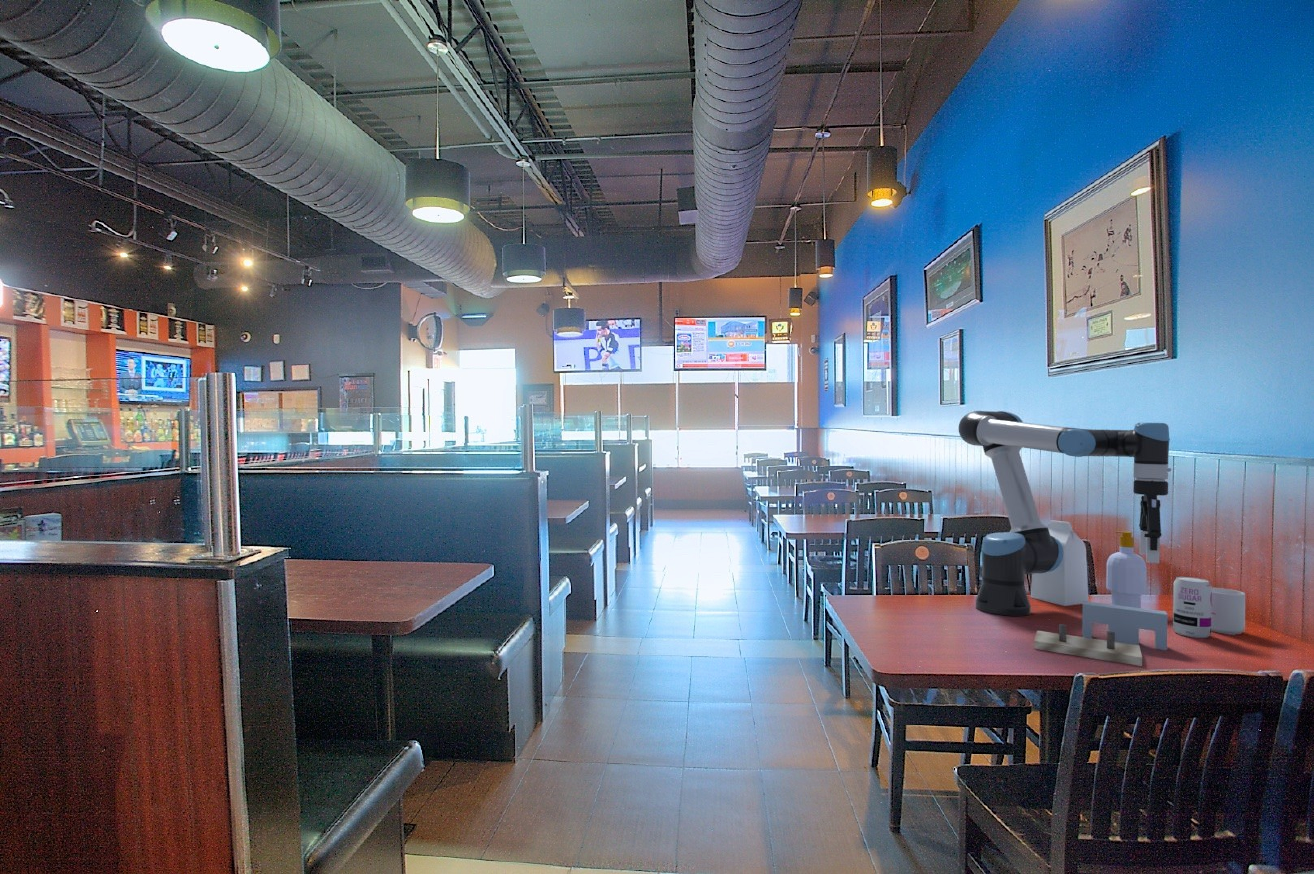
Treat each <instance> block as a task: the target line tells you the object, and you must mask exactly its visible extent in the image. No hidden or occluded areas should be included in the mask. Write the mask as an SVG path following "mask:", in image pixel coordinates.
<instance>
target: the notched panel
mask: <svg viewBox="0 0 1314 874" xmlns="http://www.w3.org/2000/svg"><path fill="white" fill-rule="evenodd" d="M1081 621H1082V624H1081V625H1082V630H1081V631H1082V634H1081V637H1085V638H1091V639H1093V623H1095V624H1101V625H1107V626H1108V628H1107V629H1108V630H1107V631H1112V632H1115V642H1118V643H1125V644H1132V645H1139V646H1140V644H1139V641H1140V640H1139V639H1140V638H1139V635H1140V634H1139V633H1140V630H1145V631H1146V630H1147V631H1153V632H1154V646H1155V649H1156V650H1161V651H1168V612H1167V611H1166V610H1157V609H1149V608H1143V607H1141V608H1135V607H1127V606H1118V605H1111V603H1110V604H1108V603H1100V602H1092V601H1089V602H1086V601H1083V604H1082V620H1081Z"/></svg>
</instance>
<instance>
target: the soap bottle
mask: <svg viewBox="0 0 1314 874" xmlns="http://www.w3.org/2000/svg"><path fill="white" fill-rule="evenodd" d="M1114 533H1116V534H1121V536H1120V535H1119V552H1118V551H1117V552H1115V553H1112V554H1110V555H1109V557H1108V558H1107V561H1106V581H1105V585H1106V587H1105V588H1106V590H1107V591H1110V592H1111V594H1110V595H1111V596H1110V599H1111V600H1110V601H1111V603H1110V605H1118V606H1127V607H1135V608H1142V595H1145V594H1147V580H1148V579H1147V577H1148V576H1147V573H1148V572H1147V571H1148V569H1147V568H1148V567H1147V564H1146V563H1147V562H1146V560H1144V557H1142V556H1140V554H1139V555H1138V554H1136V553H1134V552H1135V551H1134V550H1135V548H1134V546H1135V544H1134V540H1135V537H1132V532H1131V531H1118V530H1114Z"/></svg>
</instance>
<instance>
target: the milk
mask: <svg viewBox="0 0 1314 874" xmlns="http://www.w3.org/2000/svg"><path fill="white" fill-rule="evenodd" d="M1047 527H1048V529H1049V533H1050V535H1051V536H1053V537H1055V538H1056V539H1058V540H1059V542H1060V543H1061V545H1062V547H1063V560H1062V562H1061V563H1060V565H1059V567H1058V568H1056V569H1055V570H1053V571H1050V572H1046V573H1034V574H1031V585H1030V598H1031V599H1034V600H1035V599H1036V600H1039V601H1043V602H1047V603H1051V604H1056V605H1059V606H1062V607H1063V606H1064V607H1066V606H1067V607H1068V606H1074V605H1076V606H1077V605H1083V601H1086V602H1090V601H1089V600H1090V599H1089V585H1088V584H1089V583H1088V582H1089V581H1088V563H1087V547H1086V545H1085V542H1084V541H1083V540H1082V539H1081V538H1080V537H1079V536H1078V534H1077V533H1076V532H1075V531H1074V530H1073V527H1072V524H1071V522H1069V521H1060V520H1054V519H1053V520H1052V519H1051V520H1049V523H1048V525H1047Z"/></svg>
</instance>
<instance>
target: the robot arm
mask: <svg viewBox="0 0 1314 874" xmlns="http://www.w3.org/2000/svg"><path fill="white" fill-rule="evenodd" d="M1169 428H1170V427H1169V425H1168V424H1167V423H1164V422H1137V423H1134V428H1133V429H1130V430H1129V429H1126V430H1125V429H1107V428H1106V429H1092V428H1091V429H1090V428H1078V427H1077V428H1076V427H1069V426H1066V427H1065V426H1059V425H1058V426H1057V425H1050V424H1039V423H1031V422H1024V421H1023V420H1022V419H1021V418H1020V417H1019V416H1018V415H1017V414H1015V413H1012V412H1009V411H1004V410H1003V411H1002V410H1001V411H1000V410H998V411H994V410H993V411H990V410H989V411H987V410H974V411H970V412H968V413H966V414H965V415H963V417H962V418H961V419H960V420H959V424H958V434H959V437H960V438H961V439H962V440H963V442H964V443H967V444H969V445H972V446H975V447H976V446H977V447H982V449H983V453H984V455H985V456H987V457H988V458H990V460H991V462H992V465H993V469H994V473H995V476H996V480H997V482H998V485H999V486H998V487H999V490H1000V492H1001V493H1000V494H1001V497H1002V500H1003V503H1004V507H1005V511H1006V513H1007V517H1008V520H1009V524H1010V527H1011V529H1010V530H1009V532H1008V531H1006V532H1005V531H1004V532H993V533H988V534H987V535H985V536H984V538H983V540H982V546H981V552H982V553H981V555H982V556H981V557H982V559H981V585H980V587H979V590H978V593H977V595H976V598H975V608H976V609H978V610H980V611H982V612H986V613H989V614H994V615H995V614H996V615H1001V616H1009V617H1024V616H1028V615H1030V614H1031V613H1032V612H1031V609H1032V608H1031V607H1032V606H1031V603H1030V600H1029V597H1028V594H1027V590H1026V587H1025V578H1026V577H1025V575H1032V574H1034V573H1046V572H1050V571H1053V570H1055V569H1056V568H1058V567H1059V565H1060V563H1061V562H1062V560H1063V547H1062V545H1061V543H1060V542H1059V540H1058V539H1056V538H1055V537H1053V536H1051V535H1050V533H1049V529H1048V525H1045V524H1044V523H1042V522H1041V518H1040V515H1039V512H1038V509H1037V506H1036V502H1035V500H1034V496H1033V493H1032V490H1031V486H1030V483H1029V480H1028V477H1027V476H1028V475H1027V474H1026V473H1027V472H1026V470H1025V466H1024V463H1023V460H1022V458H1021V454H1020V452H1021V450H1022V448H1024V449H1031V450H1036V451H1037V450H1039V451H1044V452H1045V451H1046V452H1052V453H1058V454H1063V455H1066V456H1070V457H1076V458H1080V457H1081V458H1082V457H1105V458H1106V457H1117V458H1119V457H1121V458H1122V457H1125V458H1126V457H1127V458H1133V475H1132V476H1133V479H1135V480H1134V481H1133V487H1132V488H1133V489H1132V490H1133V494H1136V495H1141V497H1140V502H1139V504H1140V515H1139V517H1140V518H1139V524H1138V526H1139V530H1140V531H1139V555H1141V556H1145V563H1149V564H1151V563H1152V564H1160V552H1161V551H1160V548H1161V547H1160V545H1161V543H1160V542H1161V538H1162V536H1163V535H1162V528H1161V525H1162V524H1161V500H1160V499H1158V496H1168V494H1169V482H1168V481H1166V480H1168V479H1169V472H1171V471H1172V468H1170V467H1169V451H1170V450H1169V449H1170V448H1169V447H1170V441H1171V438H1170V430H1169Z"/></svg>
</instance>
